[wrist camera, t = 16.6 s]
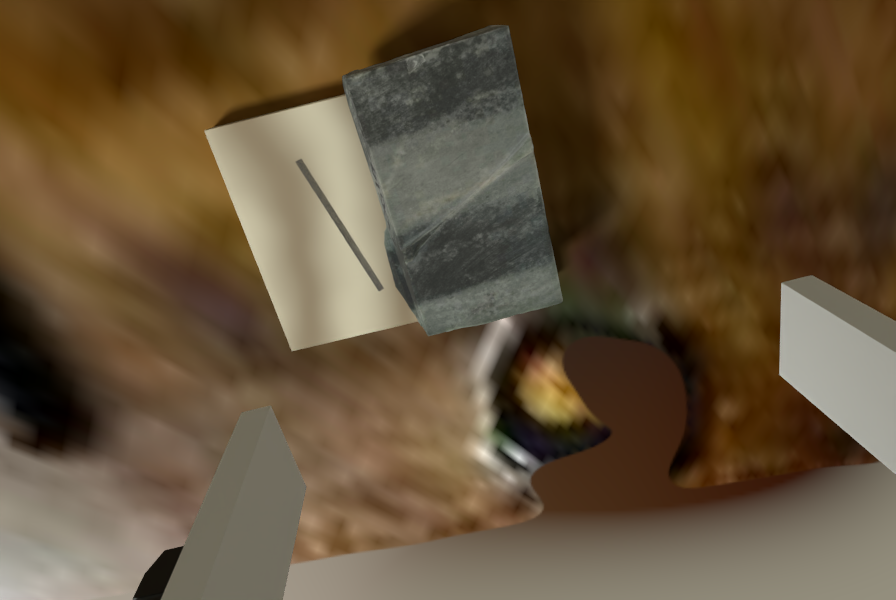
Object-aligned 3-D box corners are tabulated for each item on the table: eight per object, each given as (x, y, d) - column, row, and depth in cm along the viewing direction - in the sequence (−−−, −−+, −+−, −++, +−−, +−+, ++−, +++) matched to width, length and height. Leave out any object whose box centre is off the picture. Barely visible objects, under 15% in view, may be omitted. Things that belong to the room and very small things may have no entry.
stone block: (407, 310, 36) (406, 351, 31) (328, 72, 30) (312, 77, 25) (545, 273, 35) (566, 309, 30) (493, 24, 29) (509, 20, 24)
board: (296, 340, 38) (291, 351, 36) (213, 127, 32) (204, 130, 30) (546, 280, 37) (551, 289, 36) (508, 53, 31) (512, 53, 30)
